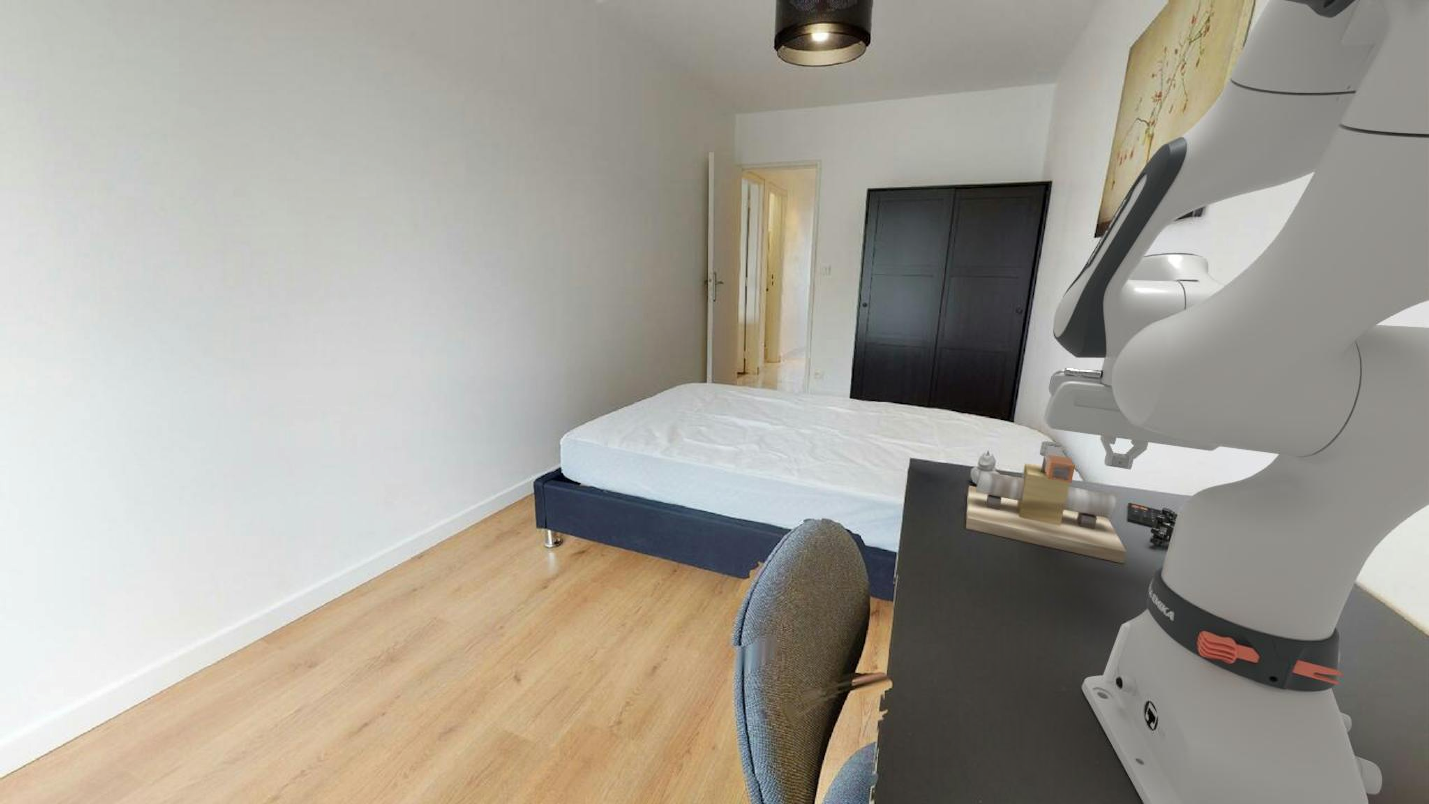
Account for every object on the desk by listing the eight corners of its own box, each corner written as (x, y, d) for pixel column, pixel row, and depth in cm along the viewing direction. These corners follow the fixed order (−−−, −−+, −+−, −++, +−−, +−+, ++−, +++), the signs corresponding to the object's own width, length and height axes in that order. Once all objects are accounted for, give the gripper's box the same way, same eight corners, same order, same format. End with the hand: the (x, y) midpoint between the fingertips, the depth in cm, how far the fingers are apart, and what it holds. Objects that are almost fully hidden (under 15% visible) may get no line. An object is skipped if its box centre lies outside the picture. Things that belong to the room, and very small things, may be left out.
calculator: (1127, 506, 101) (1131, 492, 100) (1207, 526, 94) (1212, 511, 93) (1126, 522, 94) (1130, 507, 93) (1213, 545, 87) (1218, 529, 86)
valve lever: (1038, 452, 90) (1041, 438, 89) (1058, 456, 88) (1061, 441, 88) (1047, 478, 78) (1051, 462, 77) (1071, 482, 77) (1075, 466, 76)
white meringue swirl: (963, 484, 108) (970, 448, 106) (976, 477, 112) (983, 442, 110) (991, 493, 104) (997, 455, 102) (1003, 485, 108) (1010, 449, 106)
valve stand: (1123, 563, 79) (1143, 486, 76) (966, 528, 88) (978, 458, 85) (1101, 521, 93) (1117, 455, 90) (967, 495, 102) (977, 434, 99)
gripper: (1055, 369, 74) (1037, 459, 77) (1246, 388, 65) (1215, 488, 69) (1050, 362, 79) (1033, 447, 83) (1225, 379, 71) (1197, 472, 74)
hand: (1117, 466), depth 76 cm, fingers closed
